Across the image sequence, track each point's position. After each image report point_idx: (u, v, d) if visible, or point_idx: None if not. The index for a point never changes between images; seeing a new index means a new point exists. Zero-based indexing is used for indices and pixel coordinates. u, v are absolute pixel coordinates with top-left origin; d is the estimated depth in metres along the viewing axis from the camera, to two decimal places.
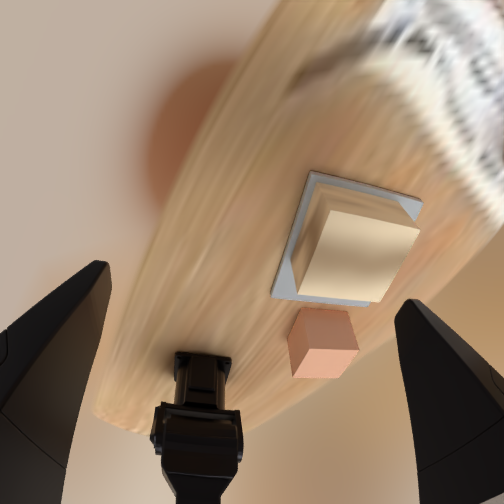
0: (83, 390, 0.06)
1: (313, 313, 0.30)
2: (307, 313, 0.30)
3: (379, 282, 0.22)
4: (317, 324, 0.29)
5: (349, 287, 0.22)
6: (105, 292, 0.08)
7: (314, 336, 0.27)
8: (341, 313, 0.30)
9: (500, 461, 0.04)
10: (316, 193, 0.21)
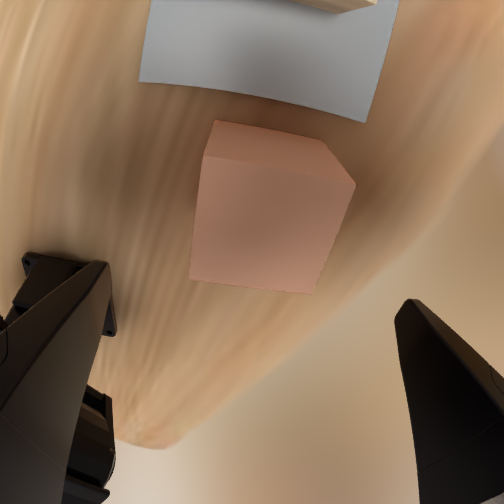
0: (83, 390, 0.06)
1: (239, 127, 0.13)
2: (225, 125, 0.13)
3: None
4: (243, 136, 0.12)
5: None
6: (105, 292, 0.08)
7: (228, 145, 0.10)
8: (308, 139, 0.13)
9: (500, 461, 0.04)
10: None
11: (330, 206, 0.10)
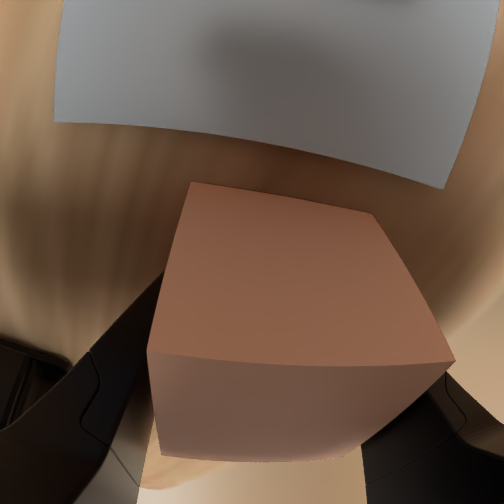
0: None
1: (234, 201, 0.07)
2: (207, 198, 0.07)
3: None
4: (242, 236, 0.06)
5: None
6: None
7: (208, 282, 0.05)
8: (353, 216, 0.08)
9: (449, 485, 0.04)
10: None
11: (402, 393, 0.05)
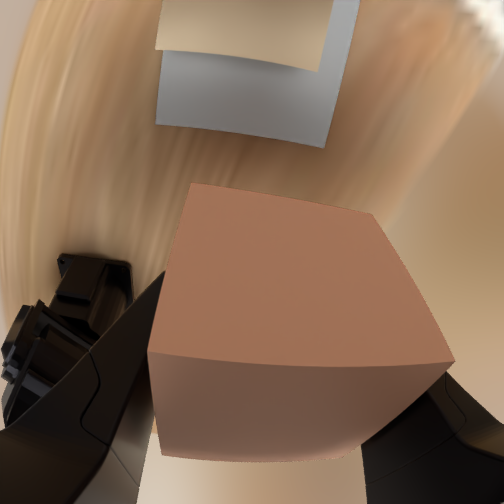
0: None
1: (234, 202, 0.07)
2: (207, 199, 0.07)
3: (304, 25, 0.10)
4: (242, 237, 0.06)
5: (246, 32, 0.11)
6: None
7: (208, 283, 0.05)
8: (353, 217, 0.08)
9: (450, 486, 0.04)
10: None
11: (402, 393, 0.05)
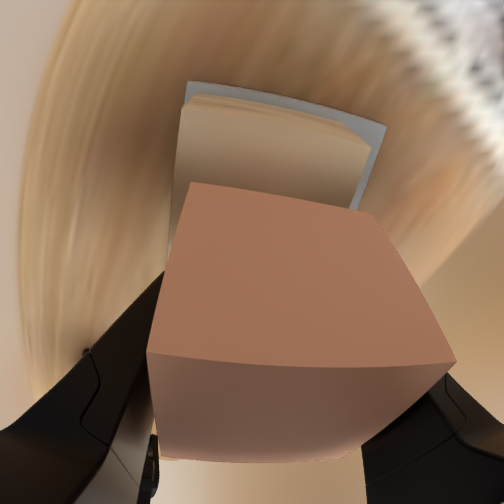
0: None
1: (234, 201, 0.07)
2: (207, 199, 0.07)
3: None
4: (242, 236, 0.06)
5: None
6: None
7: (208, 283, 0.05)
8: (353, 216, 0.08)
9: (449, 486, 0.04)
10: None
11: (403, 394, 0.05)
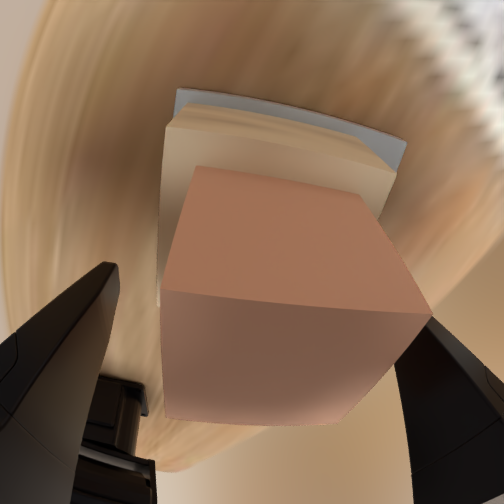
0: (92, 392, 0.07)
1: (234, 181, 0.08)
2: (210, 178, 0.08)
3: None
4: (241, 207, 0.07)
5: None
6: (114, 294, 0.08)
7: (212, 241, 0.06)
8: (341, 196, 0.09)
9: (495, 464, 0.04)
10: None
11: (386, 345, 0.06)
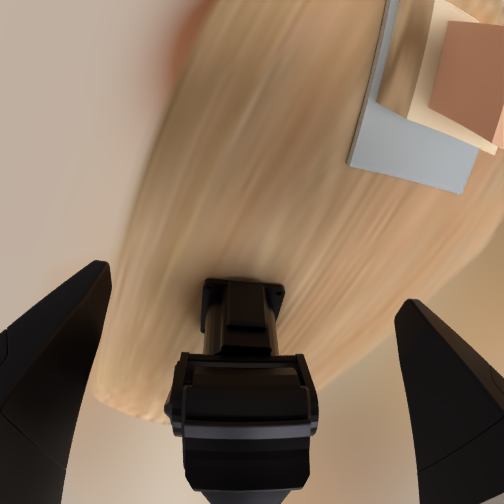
0: (83, 390, 0.06)
1: None
2: None
3: None
4: None
5: None
6: (105, 292, 0.08)
7: None
8: None
9: (500, 461, 0.04)
10: (402, 7, 0.12)
11: None
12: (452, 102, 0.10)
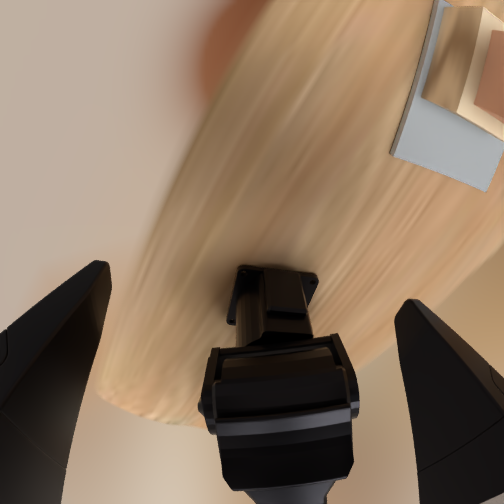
0: (83, 390, 0.06)
1: None
2: None
3: None
4: None
5: None
6: (105, 292, 0.08)
7: None
8: None
9: (500, 461, 0.04)
10: (448, 13, 0.12)
11: None
12: (498, 100, 0.10)
